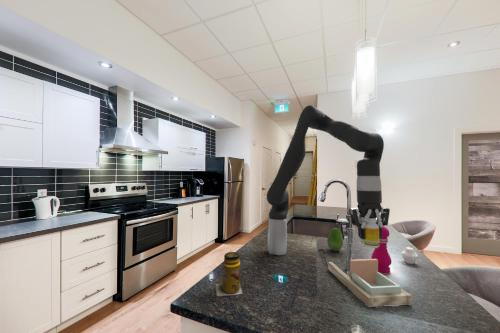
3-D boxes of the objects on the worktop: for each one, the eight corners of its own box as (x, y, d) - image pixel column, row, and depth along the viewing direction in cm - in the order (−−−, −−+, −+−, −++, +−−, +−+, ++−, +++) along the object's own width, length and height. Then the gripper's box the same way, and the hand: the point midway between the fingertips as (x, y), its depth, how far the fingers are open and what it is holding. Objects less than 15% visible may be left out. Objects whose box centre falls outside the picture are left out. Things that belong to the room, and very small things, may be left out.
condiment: (242, 294, 69) (243, 257, 69) (217, 297, 67) (217, 259, 67) (238, 282, 76) (239, 249, 76) (215, 285, 74) (216, 251, 74)
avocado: (345, 253, 105) (345, 229, 105) (330, 253, 105) (330, 229, 106) (339, 247, 113) (339, 225, 113) (324, 247, 113) (324, 225, 114)
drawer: (371, 303, 64) (371, 274, 64) (350, 284, 75) (350, 259, 75) (400, 302, 65) (400, 273, 66) (376, 283, 76) (375, 258, 76)
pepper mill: (388, 267, 89) (388, 221, 90) (394, 275, 83) (393, 225, 83) (369, 265, 92) (369, 219, 92) (373, 272, 85) (373, 223, 86)
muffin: (402, 263, 94) (402, 248, 94) (400, 258, 99) (400, 244, 100) (420, 266, 91) (419, 250, 91) (416, 261, 96) (416, 246, 97)
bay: (368, 307, 62) (368, 297, 62) (328, 269, 87) (328, 262, 87) (411, 305, 64) (411, 295, 64) (359, 268, 89) (359, 260, 89)
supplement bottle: (358, 243, 74) (357, 216, 74) (372, 242, 74) (371, 215, 75) (368, 248, 68) (367, 219, 69) (383, 247, 69) (382, 218, 69)
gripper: (379, 188, 77) (380, 234, 76) (343, 188, 75) (344, 236, 74) (396, 189, 69) (398, 240, 69) (356, 190, 67) (357, 242, 67)
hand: (370, 238), depth 71 cm, fingers closed on supplement bottle, 5 cm apart
